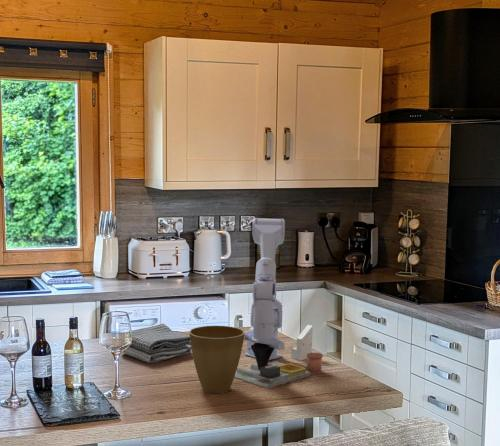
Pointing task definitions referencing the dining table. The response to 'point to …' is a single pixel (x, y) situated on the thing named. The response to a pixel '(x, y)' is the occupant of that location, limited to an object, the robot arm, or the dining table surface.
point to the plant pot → (216, 355)
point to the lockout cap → (314, 362)
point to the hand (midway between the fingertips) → (262, 369)
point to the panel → (286, 375)
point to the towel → (157, 344)
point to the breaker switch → (270, 370)
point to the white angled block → (303, 344)
